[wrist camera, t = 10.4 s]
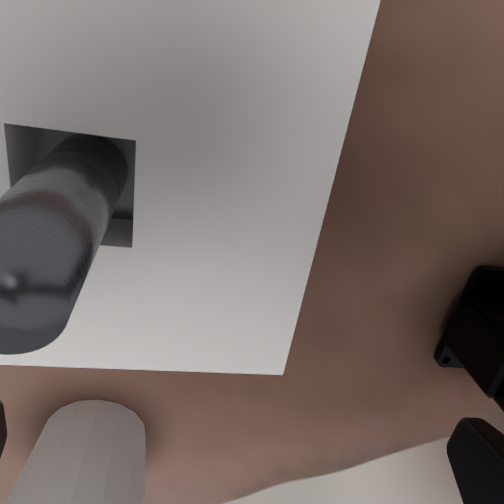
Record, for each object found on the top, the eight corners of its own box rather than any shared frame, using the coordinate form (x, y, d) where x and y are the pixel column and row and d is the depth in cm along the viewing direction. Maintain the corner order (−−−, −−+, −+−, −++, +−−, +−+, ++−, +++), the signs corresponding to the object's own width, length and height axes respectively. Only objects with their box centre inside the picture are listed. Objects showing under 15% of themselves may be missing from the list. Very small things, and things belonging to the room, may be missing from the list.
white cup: (11, 406, 22) (-60, 549, 16) (137, 379, 22) (115, 510, 16) (60, 482, 26) (17, 624, 19) (169, 458, 26) (161, 592, 20)
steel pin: (128, 138, 16) (67, 249, 8) (126, 205, 17) (71, 357, 9) (50, 127, 15) (-95, 235, 8) (54, 197, 17) (-67, 351, 9)
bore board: (354, -21, 15) (388, -32, 12) (272, 333, 22) (282, 375, 19) (-248, -153, 12) (-379, -207, 9) (-114, 312, 19) (-164, 358, 16)
